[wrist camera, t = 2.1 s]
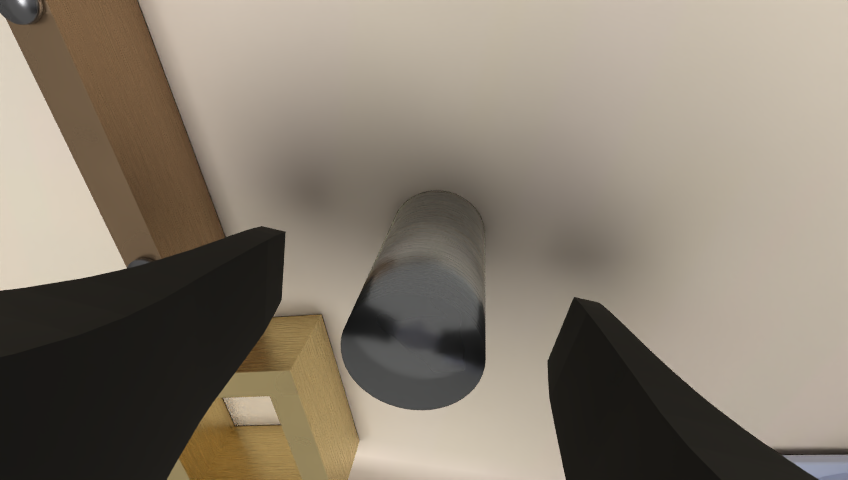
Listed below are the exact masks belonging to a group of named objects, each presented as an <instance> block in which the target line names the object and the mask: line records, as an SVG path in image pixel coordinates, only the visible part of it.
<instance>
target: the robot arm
mask: <svg viewBox="0 0 848 480" xmlns="http://www.w3.org/2000/svg"><path fill="white" fill-rule="evenodd" d="M284 249H285V232H284V231H280V230H276V229H271V228H267V227H262V226H261V227H257V228H253V229H249V230H246V231H243V232H240V233H237V234H234V235H231V236H229V237H226V238H223V239H220V240H217V241H214V242H212V243H209V244H206V245H203V246H200V247H197V248H194V249H191V250H188V251H185V252H182V253H179V254H175V255H172V256H169V257H166V258H162V259H159V260H156V261H153V262H149V263H146V264H142V265H139V266H135V267H131V268H127V269H123V270H119V271H114V272H110V273H105V274H101V275H96V276H92V277H87V278H82V279H76V280H70V281H64V282H57V283H51V284H45V285H39V286H33V287H27V288H20V289H12V290H3V291H0V480H167V478H168V477H169V475H170V473H171V471H172V469H173V468H174V466H175V464H176V462H177V460H178V459H179V457H180V455H181V454H182V452H183V450H184V449H185V447H186V445H187V443H188V442H189V440H190V438H191V437H192V435H193V433H194V431H195V430H196V428H197V426H198V425H199V423H200V421H201V420H202V418H203V417H204V415H205V414H206V412H207V411H208V409H209V408H210V406H211V405H212V403H213V402H214V401H215V399H216V398H217V397H218V395H219V394H220V393H221V391H222V390H223V389H224V387H225V386H226V384H227V383H228V382H229V380H230V379H231V378H232V376H233V375H234V374H235V372H236V371H237V370H238V368H239V367H240V365H241V364H242V363H243V361H244V360H245V359H246V357H247V356H248V355H249V353H250V352H251V350H252V349H253V348H254V346H255V345H256V344H257V342H258V341H259V339H260V338H261V337H262V335H263V334H264V332H265V330H266V329H267V327H268V325H269V323H270V321H271V320H272V318H273V316H274V314H275V312H276V310H277V308H278V306H279V304H280V302H281V300H282V283H283V266H284ZM548 383H549V397H550V403H551V409H552V414H553V419H554V424H555V429H556V434H557V439H558V444H559V449H560V453H561V458H562V463H563V468H564V473H565V478H566V480H848V455H781V454H779V453H778V452H776V451H775V450H773V449H772V448H770V447H769V446H767V445H766V444H764V443H763V442H761V441H760V440H759V439H757V438H756V437H754V436H753V435H751V434H750V433H749V432H747V431H746V430H744V429H743V428H742V427H741V426H739V425H738V424H737V423H735V422H734V421H733V420H731V419H730V418H729V417H727V416H726V415H725V414H723V413H722V412H721V411H719V410H718V409H717V408H716V407H714V406H713V405H712V404H711V403H709V402H708V401H707V400H706V399H704V398H703V397H702V396H701V395H699V394H698V393H697V392H696V391H695V390H694V389H692V388H691V387H690V386H689V385H688V384H687V383H686V382H684V381H683V380H682V379H681V378H680V377H679V376H677V375H676V374H675V373H674V372H673V371H672V370H671V369H670V368H669V367H667V366H666V365H665V364H664V363H663V362H662V361H661V360H660V359H659V358H658V357H657V356H656V355H655V354H653V353H652V352H651V351H650V350H649V349H648V348H647V347H646V346H645V345H644V344H643V343H642V342H641V341H640V340H639V339H638V338H637V337H636V336H635V335H634V334H633V333H632V332H631V331H630V330H629V329H628V328H627V327H626V326H624V325H623V324H622V323H621V322H620V321H619V320H618V319H617V318H616V317H615V316H614V315H613V314H612V313H611V312H610V311H608V310H607V309H606V308H605V307H604V306H603V305H601V304H600V303H598V302H593V301H589V300H585V299H580V298H576V297H574V298H573V301H572V303H571V306H570V308H569V311H568V313H567V315H566V318H565V320H564V323H563V325H562V328H561V330H560V332H559V335H558V337H557V340H556V342H555V345H554V347H553V349H552V352H551V354H550V357H549V359H548Z"/></svg>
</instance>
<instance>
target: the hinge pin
mask: <svg viewBox="0 0 848 480" xmlns="http://www.w3.org/2000/svg"><path fill="white" fill-rule="evenodd" d="M341 353H342V358H343V361H344V364H345V367H346V368H347V370H348V372H349V374H350V375H351V377H352V378H353V379H354V381H355V382H356V383H357V384H358V385H359V386H360V387H361V388H362V389H363V390H365V391H366V392H367V393H369V394H370V395H371V396H373V397H375V398H376V399H378V400H380V401H382V402H385V403H387V404H389V405H392V406H396V407H399V408H404V409H411V410H432V409H437V408H442V407H445V406H449V405H451V404H453V403H456V402H457V401H459V400H461V399H463V398H464V397H465V396H467V395H468V394H469V393H470V392H471V391H472V390H473V389H474V388H475V387H476V385H477V384H478V382H479V381H480V379H481V377H482V375H483V371H484V368H485V360H486V358H485V230H484V224H483V221H482V219H481V217H480V215H479V213H478V212H477V210H476V209H475V208H474V206H473V205H472V204H471V203H469V202H468V201H467V200H466V199H464V198H462V197H461V196H459V195H456V194H454V193H451V192H446V191H428V192H424V193H420V194H418V195H416V196H414V197H412V198H411V199H409V200H408V201H407V202H405V203H404V204H403V206H402V207H401V208H400V209H399V211H398V213H397V215H396V217H395V219H394V221H393V223H392V226H391V228H390V230H389V232H388V234H387V236H386V239H385V241H384V243H383V245H382V247H381V249H380V252H379V254H378V256H377V258H376V260H375V262H374V265H373V267H372V269H371V271H370V273H369V275H368V278H367V280H366V282H365V284H364V286H363V288H362V291H361V293H360V295H359V297H358V299H357V302H356V304H355V306H354V308H353V310H352V312H351V315H350V317H349V319H348V321H347V323H346V325H345V328H344V330H343V333H342V337H341Z"/></svg>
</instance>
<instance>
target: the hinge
mask: <svg viewBox="0 0 848 480" xmlns="http://www.w3.org/2000/svg"><path fill="white" fill-rule="evenodd" d="M0 13H1V14H2V15H3V16H4V17H5V18H6V20H7V22H8V24H9V26H10V28H11V30H12V32H13V34H14V36H15V38H16V40H17V42H18V45H19V47H20V49H21V51H22V53H23V55H24V57H25V59H26V61H27V63H28V65H29V67H30V69H31V71H32V73H33V75H34V77H35V80H36V82H37V84H38V86H39V88H40V90H41V92H42V94H43V96H44V98H45V100H46V102H47V104H48V106H49V108H50V110H51V112H52V114H53V117H54V119H55V121H56V123H57V125H58V127H59V129H60V131H61V133H62V135H63V137H64V139H65V141H66V143H67V145H68V147H69V149H70V152H71V154H72V156H73V158H74V160H75V162H76V164H77V166H78V168H79V170H80V172H81V174H82V176H83V178H84V180H85V182H86V184H87V187H88V189H89V191H90V193H91V195H92V197H93V199H94V201H95V203H96V205H97V207H98V209H99V211H100V213H101V215H102V217H103V219H104V221H105V224H106V226H107V228H108V230H109V232H110V234H111V236H112V238H113V240H114V242H115V244H116V246H117V248H118V250H119V252H120V254H121V256H122V259H123V261H124V263H125V265H126V267H127V268H131V267H135V266H139V265H142V264H146V263H149V262H153V261H156V260H159V259H162V258H166V257H169V256H172V255H175V254H179V253H182V252H185V251H188V250H191V249H194V248H197V247H200V246H203V245H206V244H209V243H212V242H214V241H217V240H220V239H223V238H225V236H224V233H223V230H222V227H221V225H220V222H219V219H218V217H217V214H216V211H215V209H214V206H213V203H212V201H211V198H210V195H209V193H208V190H207V187H206V184H205V182H204V179H203V176H202V174H201V171H200V168H199V166H198V163H197V160H196V158H195V155H194V152H193V150H192V147H191V144H190V142H189V139H188V136H187V133H186V131H185V128H184V125H183V123H182V120H181V117H180V115H179V112H178V109H177V107H176V104H175V101H174V99H173V96H172V93H171V90H170V88H169V85H168V82H167V80H166V77H165V74H164V72H163V69H162V66H161V64H160V61H159V58H158V56H157V53H156V50H155V48H154V45H153V42H152V39H151V37H150V34H149V31H148V29H147V26H146V23H145V21H144V18H143V15H142V13H141V10H140V7H139V5H138V2H137V0H0ZM256 396H270V398H271V401H272V403H273V406H274V408H275V411H276V413H277V416H278V419H279V421H280V424H281V425H280V426H234V424H233V422H232V419H231V417H230V415H229V413H228V411H227V408H226V406H225V404H224V402H223V399H222V398H226V397H256ZM358 444H359V438H358V435H357V432H356V428H355V425H354V422H353V418H352V415H351V412H350V408H349V405H348V402H347V398H346V395H345V392H344V388H343V385H342V381H341V378H340V375H339V371H338V368H337V365H336V361H335V358H334V355H333V351H332V348H331V345H330V341H329V338H328V335H327V331H326V328H325V325H324V321H323V318H322V314H320V315H305V316H290V317H275V318H272V320H271V321H270V323H269V325H268V327H267V329H266V330H265V332H264V334H263V335H262V337H261V338H260V339H259V341H258V342H257V344H256V345H255V346H254V348H253V349H252V350H251V352H250V353H249V355H248V356H247V357H246V359H245V360H244V361H243V363H242V364H241V365H240V367H239V368H238V370H237V371H236V372H235V374H234V375H233V376H232V378H231V379H230V380H229V382H228V383H227V384H226V386H225V387H224V389H223V390H222V391H221V393H220V394H219V395H218V397H217V398H216V399H215V401H214V402H213V403H212V405H211V406H210V408H209V409H208V411H207V412H206V414H205V415H204V417H203V418H202V420H201V421H200V423H199V425H198V426H197V428H196V430H195V431H194V433H193V435H192V437H191V438H190V440H189V442H188V443H187V445H186V447H185V449H184V450H183V452H182V454H181V455H180V457H179V459H178V460H177V462H176V464H175V466H174V468H173V469H172V471H171V473H170V475H169V477H168V478H167V480H348V477H349V474H350V471H351V467H352V464H353V461H354V457H355V454H356V450H357V447H358Z"/></svg>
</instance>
